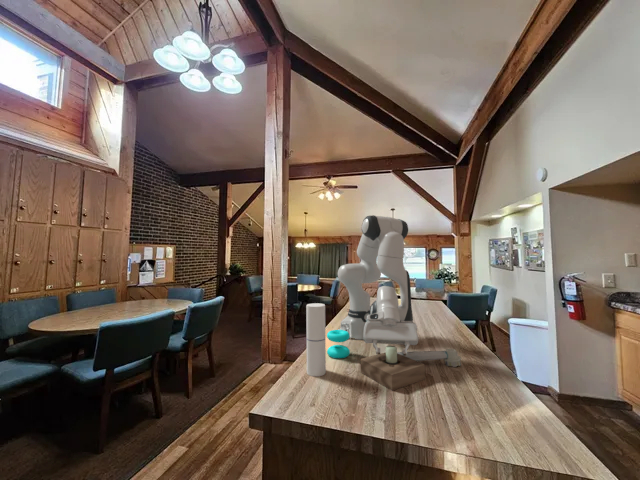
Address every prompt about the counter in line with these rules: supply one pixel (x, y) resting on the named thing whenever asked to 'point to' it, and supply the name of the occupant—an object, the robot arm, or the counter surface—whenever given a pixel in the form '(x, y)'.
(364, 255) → the robot arm
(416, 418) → the counter surface
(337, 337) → the donuts
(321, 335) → the cylindrical container
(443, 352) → the white handheld wand
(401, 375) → the socket block
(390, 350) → the peg
